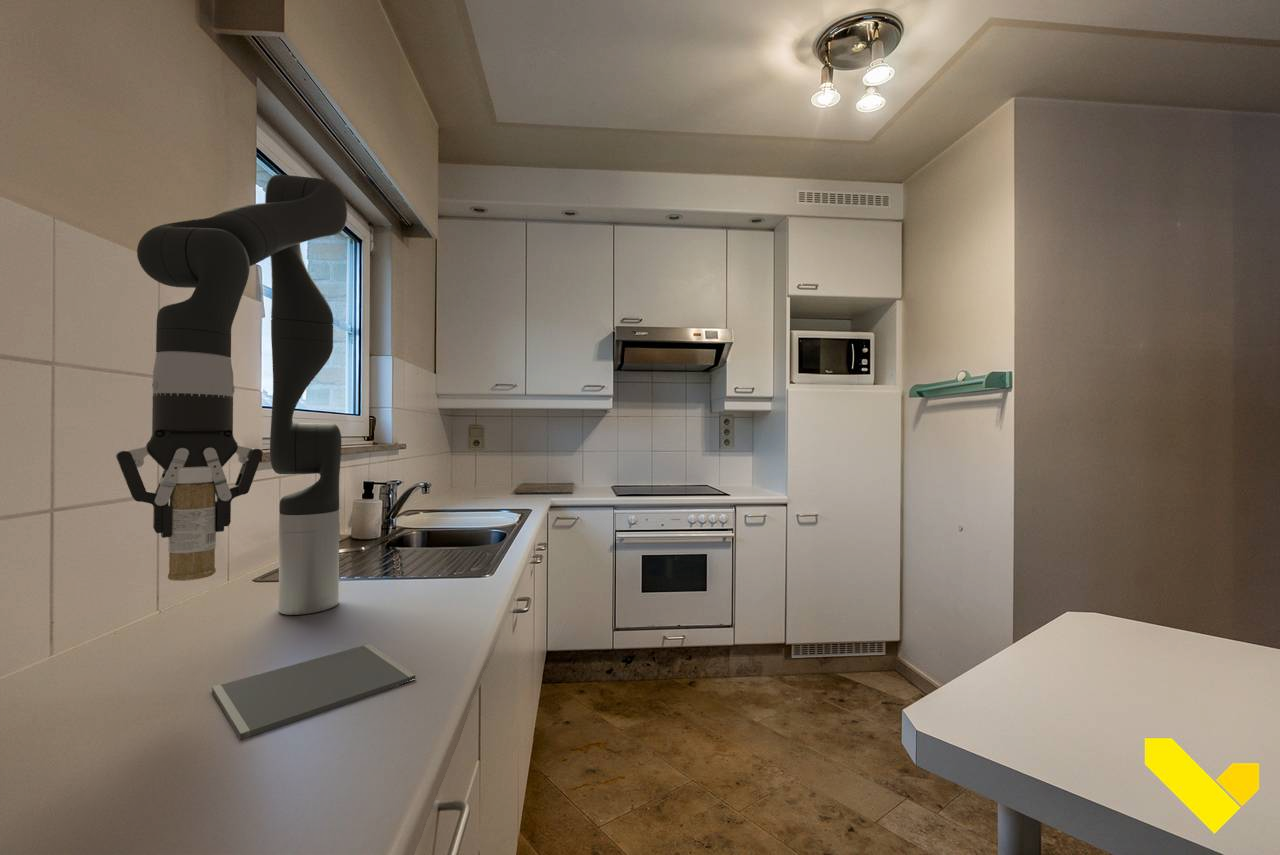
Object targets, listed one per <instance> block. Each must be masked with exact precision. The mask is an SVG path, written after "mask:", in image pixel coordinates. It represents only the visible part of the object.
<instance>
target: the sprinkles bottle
mask: <svg viewBox="0 0 1280 855" xmlns="http://www.w3.org/2000/svg"><path fill="white" fill-rule="evenodd" d="M175 469H176V468H175ZM216 474H217V473H216ZM171 476H174V475H173V474H172V475H171ZM213 482H214V481H213V478H212V470H211V468H209V467H207V466H202V467H183V468H181V469H179V473H178V481H177V483H176V485H175V487H174V489H173V491H172V494H171V496H170V498H169V505H170V506H171V536H170V537H168V553H169V554H168V557H169V559H168V562H169V563H168V574H167V579H168V580H169V581H177V582H185V581H194V580H202V579H204V578H209V577H211V576H213V575H214V574H215V573H216V571H217V570H216V569H217V568H216V566H215V564H216V562H215V561H216V554H215V553H216V546H217V534H216V533H217V532H216V506H215V501H216V494H215V485H214V483H213Z"/></svg>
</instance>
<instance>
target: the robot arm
mask: <svg viewBox="0 0 1280 855" xmlns="http://www.w3.org/2000/svg"><path fill="white" fill-rule="evenodd" d="M264 194H265V195H264V196H265V198H264V199H265V200H264V203H252V204H247V205H241V206H237V207H234V208H231V209H229V210H226V211H224V212H220V213H218V214H214V215H213V216H210V217H206V218H198V219H197V218H196V219H189V220H183V221H177V222H169V223H165V224H164V223H163V224H161V225H157V226H155V227H153V228H151V229H149V230H148V231H146V232H145V233H144V234H143V235H142V236H141V238H140V239H139V241H138V245H137V250H136V255H137V256H136V257H137V261H138V263H139V265H140V266H141V268H142V270H143V271H144V272H145V273H146V274H147V275H148V276H149V277H150V278H151V279H153V280H154V281H155V282H157V283H159V284H162V285H165V286H169V287H174V288H183V289H184V288H185V289H187V288H193V289H194V291H193V292H192V295H191V296H190V297H189V298H187V299H186V300H183V301H181V302H176V303H172V304H167V305H165V306H163V307H161V308H160V309H159V310H158V312H157V316H156V330H155V331H156V333H155V334H156V336H155V337H156V338H155V339H156V340H155V343H156V344H155V360H154V365H153V370H152V412H151V414H152V415H151V416H152V418H151V419H152V420H151V421H152V422H151V424H152V425H151V437H150V439H149V441H148V442H147V443H146V445H145V446H142V447H138V448H135V449H130V450H120V451H118V452H116V455H115V458H116V460H117V464H118V466H119V468H120V470H121V473H122V474H123V478H124V480H125V482H126V485H127V488H128V490H129V493H130V495H131V497H132V499H133V500H134V501H136V502H140V503H141V502H142V503H147V504H150V505H152V508H153V514H152V516H153V522H152V523H153V526H152V528H153V530H154V532H155V533H156V534H160V537H161V538H163V539H165V538H169V537H170V536H171V506H170V496H171V494H172V491H173V489H174V487H175V485H176V483H177V481H178V473H179V469H181V468H183V467H202V466H207V467H209V468H211V470H212V478H213V481H214V482H213V483H214V485H215V498H216V500H215V506H216V533H219V532H220V533H222V532H224V531H225V527H229V525H230V524H231V522H232V520H231V519H232V515H231V514H232V501H233V499H236V498H237V497H240V496H243V495H246V494H248V493H249V492H250V490H251V486H252V484H253V481H254V478H255V475H256V473H257V470H258V466H259V464H260V461H261V459H262V456H263V451H262V450H261V449H260V448H254V447H253V448H250V447H245V446H241V445H238V442H237V441H236V440H235V438H234V437H235V436H234V422H233V421H234V393H235V385H234V372H233V365H232V327H233V323H234V321H235V317H236V315H237V312H238V308H239V305H240V302H241V300H242V297H243V294H244V292H245V289H246V286H247V283H248V280H249V277H250V276H249V275H250V271H251V270H250V268H251V266H254V265H256V264H259V263H261V262H262V261H265V259H268V258H270V268H271V270H270V271H271V276H270V277H271V309H270V310H271V312H270V318H271V320H270V331H271V332H270V335H271V336H270V338H271V342H270V343H271V357H272V358H271V360H272V402H271V403H272V404H271V416H270V417H271V420H270V436H269V437H270V438H269V458H270V464H271V467H272V470H273V472H274V473H276V474H278V475H311V474H312V475H313V474H319V479H318V480H317V481H316V482H315V483H313V484H312V485H309V486H308V487H306V488H304V489H302V490H298V491H296V492H293V493H289V494H286V495H284V496H283V497H281V499H280V501H279V506H278V507H279V508H278V509H279V510H278V511H279V514H278V515H279V521H278V524H279V526H278V528H279V531H278V532H279V534H278V535H279V537H278V540H279V542H278V543H279V544H278V545H279V546H278V547H279V548H278V554H279V555H278V613H280V614H283V615H289V616H292V615H293V616H294V615H296V616H298V615H307V614H313V613H314V614H315V613H319V612H322V611H323V612H324V611H326V610H329V609H332V608H334V607H336V606H337V605H338V604H339V597H340V596H339V594H340V593H339V587H340V585H339V584H340V472H341V458H342V434H341V430H340V427H339V426H338V425H337V424H335V423H329V422H327V423H326V422H320V423H319V422H293V417H294V412H295V410H296V407H297V405H298V402H299V401H300V399H301V397H302V396H303V395H304V393H305V391H306V390H307V388H308V387H309V385H310V384H311V382H312V381H313V380H314V379H315V378H316V377H317V375H318V374H319V373H320V371H321V370H322V369H323V368H324V366H325V365H326V364H327V362H328V360H329V359H330V357H331V356H332V354H333V349H334V314H333V310H332V309H331V307H330V304H329V303H328V301H327V300H326V297H325V296H324V294H323V293H322V292H321V290H320V288H319V287H318V285H317V284H316V282H315V281H314V279H313V278H312V276H311V274H310V273H309V271H308V269H307V267H306V264H305V262H304V259H303V254H302V248H301V243H305V242H309V241H311V240H315V239H319V238H325V237H332V236H337V235H338V234H340V233H341V232H342V231H344V228H345V226H346V225H347V221H348V206H347V202H346V198H345V195H344V192H342V190H341V188H340V187H339V186H338V185H336V184H335V183H333V182H332V181H329V180H326V179H322V178H320V177H319V178H318V177H310V176H301V175H300V176H299V175H289V174H275V175H272V176H271V177H270V178H269V179H268V180H267V184H266V187H265V193H264ZM235 454H236V455H237V456H238V459H237V460H238V462H239V463H240V464H242V465H241V467H240V470H239V473H238V476H237V478H236V481H235V483H234V485H233V486H231V487H229V484H228V481H227V478H226V475H225V472H224V470H223V467H224V466H225V465H226V464H227V463H228V461H229V460H230V459H231V458H232V457H233V456H234V455H235ZM146 456H150V457H151V458H152V459H153V460H154V462H156V463H157V464H158V465H159V466H160V467H161V468H162V469H163V471H162V474H161V477H160V479H159V481H158V484H157V487H156V489H155V492H154V491H149V490H147V489H146V487H145V485H144V482H143V480H142V477H141V475H140V472H139V470H138V468H141V467H142V466H143V465H145V464H144V463H145V460H144V459H145V457H146ZM175 468H176V469H175ZM216 473H217V474H216ZM172 474H173V475H174V476H171V475H172Z"/></svg>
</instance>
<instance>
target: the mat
mask: <svg viewBox="0 0 1280 855" xmlns="http://www.w3.org/2000/svg"><path fill="white" fill-rule="evenodd" d="M412 679H415V680H416V674H415V673H413V672H412V671H410V670H409V669H407V668H406V667H405V666H403V665H401V664H400V663H399V662H397V661H395V660H394V659H393V658H391V657H390V656H388V655H386V654H385V653H384V652H382V651H381V650H379V649H377V648H376V647H374V646H373V645H372V644H370V643H367V644H364V645H361V646H356V647H354V648H349V649H346V650H342V651H339V652H335V653H331V654H328V655H325V656H321V657H317V658H314V659H310V660H306V661H302V662H298V663H295V664H291V665H288V666H284V667H280V668H277V669H274V670H269V671H266V672H262V673H259V674H255V675H251V676H247V677H244V678H240V679H236V680H231V681H229V682H226V683H222V684H217V685H213V686H212V687H211V692H212V695H213V697H215V699H216V702H217V703H218V705H219V706H220V708H221V710H222V711H223V713H224V715H225V716H226V718H227V720H228V722H229V723H230V725H231V726H232V728H233V730H234V732H235V733H236V735H237V737H238V738H239V740H240V741H241V740H244V739H247V738H251V737H252V736H256V735H259V734H261V733H265V732H267V731H270V730H273V729H276V728H279V727H282V726H285V725H288V724H291V723H294V722H296V721H300V720H303V719H305V718H309V717H311V716H315V715H317V714H320V713H323V712H326V711H330V710H332V709H335V708H339V707H340V706H344V705H348V704H349V703H352V702H355V701H358V700H361V699H364V698H366V697H370V696H373V695H375V694H379V693H382V692H384V690H385V691H388V690H390V689H389V688H391V689H393V688H392V687H394V686H397V685H399V686H401V685H400V684H402V683H405V682H407V681H410V680H412ZM405 684H406V683H405ZM402 685H403V684H402ZM397 687H398V686H397ZM394 688H395V687H394ZM387 689H388V690H387ZM381 691H382V692H381Z"/></svg>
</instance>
